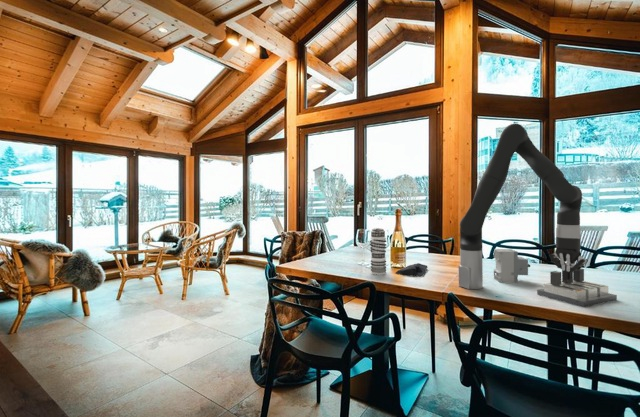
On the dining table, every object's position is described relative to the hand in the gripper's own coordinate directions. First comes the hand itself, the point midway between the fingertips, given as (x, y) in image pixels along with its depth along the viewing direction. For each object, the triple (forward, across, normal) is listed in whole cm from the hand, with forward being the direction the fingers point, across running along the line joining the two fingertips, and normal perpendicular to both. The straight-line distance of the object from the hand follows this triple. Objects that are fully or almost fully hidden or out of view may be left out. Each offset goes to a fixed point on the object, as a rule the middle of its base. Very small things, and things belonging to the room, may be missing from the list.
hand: (567, 280), depth 122 cm
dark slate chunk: (+9, -66, -23) cm, 71 cm away
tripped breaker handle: (+3, -5, 0) cm, 5 cm away
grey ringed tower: (+9, -72, -42) cm, 84 cm away
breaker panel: (+8, -2, +7) cm, 11 cm away
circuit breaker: (+8, -30, +8) cm, 32 cm away
